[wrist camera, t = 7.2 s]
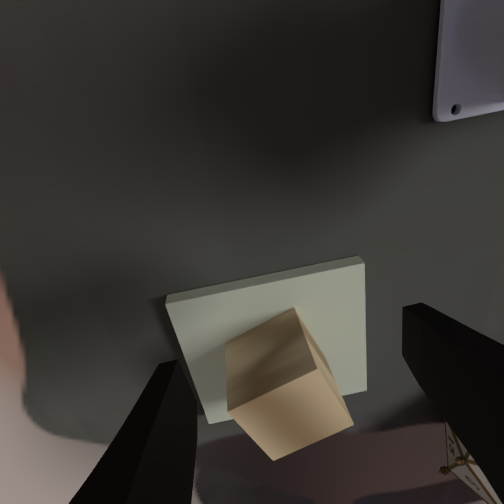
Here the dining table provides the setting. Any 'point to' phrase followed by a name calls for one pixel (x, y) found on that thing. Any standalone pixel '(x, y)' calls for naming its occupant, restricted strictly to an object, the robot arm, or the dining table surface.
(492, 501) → the game die
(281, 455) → the maple block
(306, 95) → the dining table surface
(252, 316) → the sage tile
